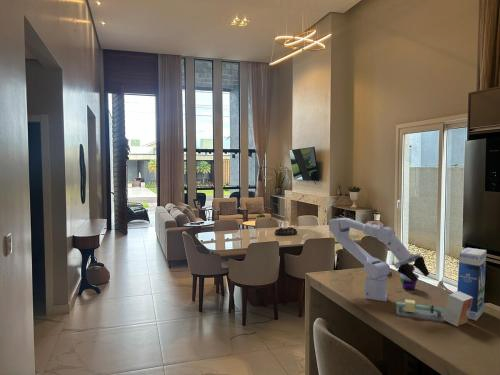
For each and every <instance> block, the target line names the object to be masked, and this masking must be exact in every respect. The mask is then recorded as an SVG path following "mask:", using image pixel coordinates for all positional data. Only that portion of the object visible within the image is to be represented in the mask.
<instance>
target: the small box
mask: <svg viewBox="0 0 500 375" xmlns="http://www.w3.org/2000/svg"><path fill="white" fill-rule="evenodd" d="M472 301H473V297H471V296H469V295H467V294H465V293H462V292H460V291H458V292H457V291H456V292H453V293H451V294H448V297H447V300H446V305H445V310H444V312H443V320H445V322H447V323H449V324H451V325H452V326H455V327H456V328H457V327H460V326H461V325H464V324H467V323H468V320H469V319H468V317H469V313H470V309H471V305H472Z"/></svg>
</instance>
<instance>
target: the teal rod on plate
mask: <svg viewBox="0 0 500 375" xmlns="http://www.w3.org/2000/svg"><path fill="white" fill-rule="evenodd" d="M395 311H396V312H395V314H396V315H395V316H398V317H403V318H404V317H405V318H412V319H418V320H425V321H431V322H439V323H446V321H445V320H443V317H444V314H443V313H445V310H444V308H443V307H438V306H437V307H435V306H434V304H430V306H428V305H421V304H415V313H414V312H407V311H405V302H399V301H396V306H395Z"/></svg>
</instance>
